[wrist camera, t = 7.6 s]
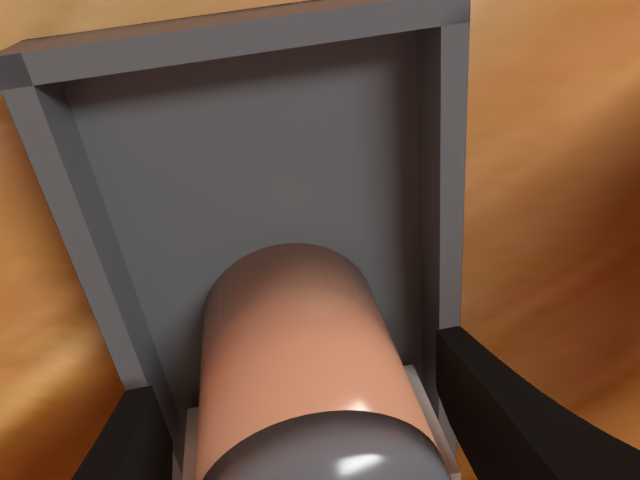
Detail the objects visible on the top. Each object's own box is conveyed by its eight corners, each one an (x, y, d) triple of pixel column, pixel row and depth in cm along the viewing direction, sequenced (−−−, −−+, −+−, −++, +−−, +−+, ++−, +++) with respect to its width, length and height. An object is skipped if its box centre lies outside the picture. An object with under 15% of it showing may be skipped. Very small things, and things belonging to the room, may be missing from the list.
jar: (367, 229, 15) (469, 431, 8) (376, 363, 17) (460, 593, 11) (185, 260, 14) (156, 496, 8) (222, 393, 17) (221, 649, 11)
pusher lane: (435, -18, 12) (552, 5, 8) (435, 534, 23) (483, 670, 19) (23, 40, 11) (-101, 99, 7) (226, 582, 22) (227, 734, 18)
